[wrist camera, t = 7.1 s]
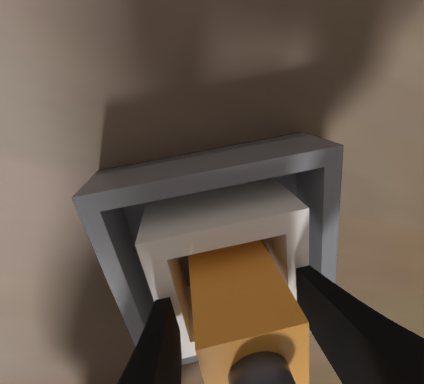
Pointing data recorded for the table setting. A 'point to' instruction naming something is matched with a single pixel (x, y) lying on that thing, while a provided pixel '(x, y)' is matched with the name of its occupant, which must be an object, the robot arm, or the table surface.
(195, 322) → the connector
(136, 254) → the walled box
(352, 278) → the table surface
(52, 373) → the table surface
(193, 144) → the table surface
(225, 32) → the table surface
